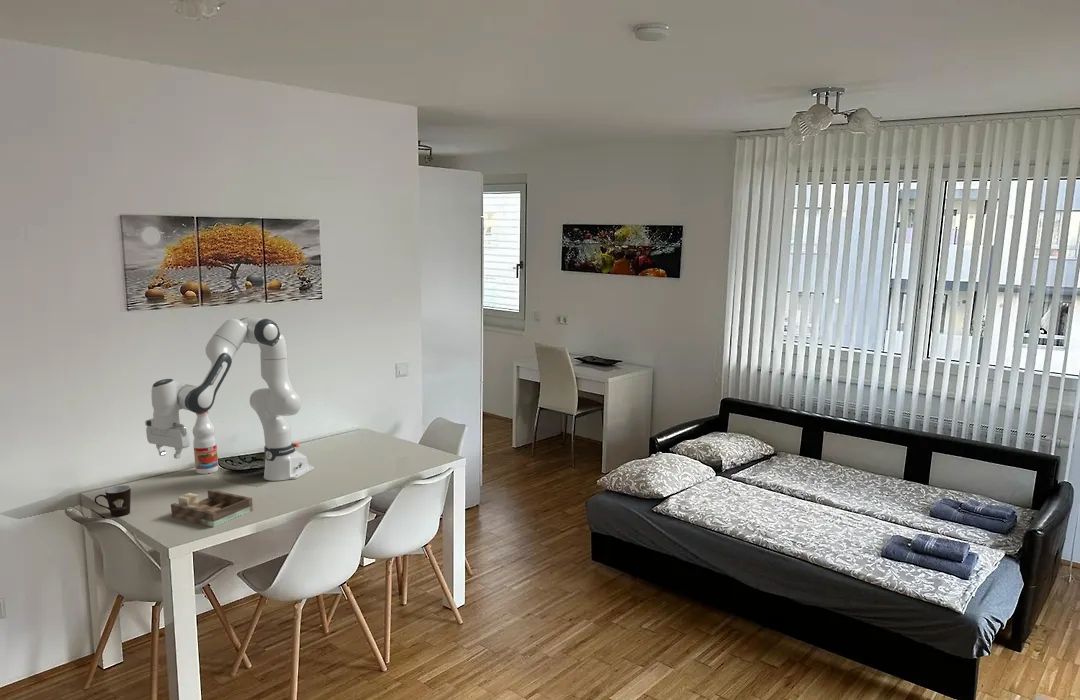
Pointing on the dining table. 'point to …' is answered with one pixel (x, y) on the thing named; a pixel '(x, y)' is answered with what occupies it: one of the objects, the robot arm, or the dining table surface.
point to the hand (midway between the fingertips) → (169, 456)
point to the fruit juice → (205, 445)
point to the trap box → (214, 509)
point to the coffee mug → (117, 500)
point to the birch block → (189, 500)
